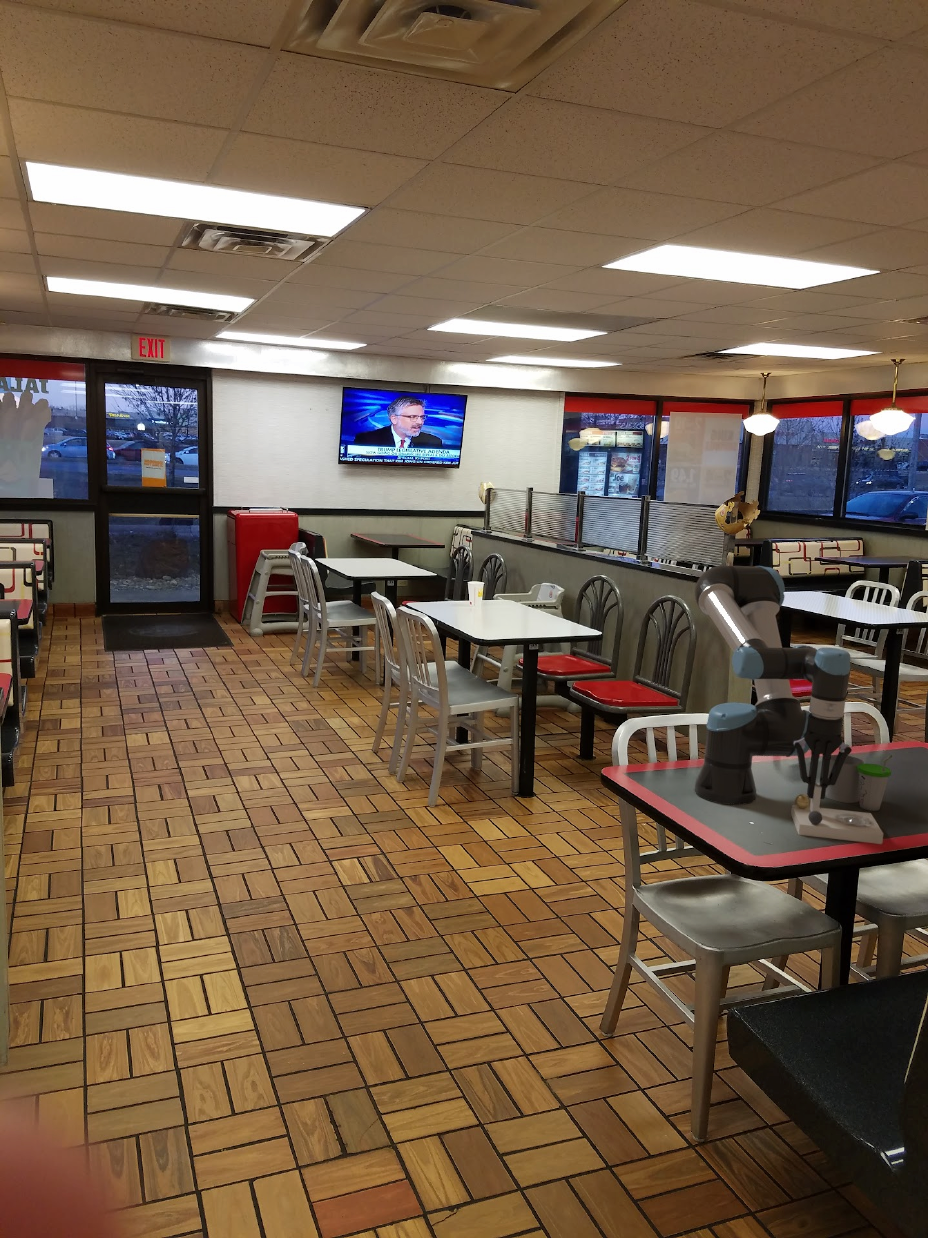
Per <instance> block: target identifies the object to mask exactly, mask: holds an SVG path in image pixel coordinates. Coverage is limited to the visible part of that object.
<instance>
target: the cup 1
mask: <svg viewBox="0 0 928 1238" xmlns="http://www.w3.org/2000/svg"><path fill="white" fill-rule="evenodd" d="M837 755H838V754H831V760H830V766H829V774H828V777H829V775H830V772H831V770H832V768H833V765H834V763H835V760H836V758H837ZM859 764H865V763H864V760H863V759H860V758H859V757H855V756H851V755H848V756H847V757H846V759H845V761H844V764H843V766H842V769H841V771H840V774H839V776H838V778H837V781H836V783H835V785H829V786H828V787H827V788H826V793H825V798H828V799H830V800H832V801H835V802H840V803H848V804H849V803H851V804H854V803H857V802H859V772H858V770H857V765H859Z"/></svg>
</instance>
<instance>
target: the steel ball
mask: <svg viewBox="0 0 928 1238" xmlns="http://www.w3.org/2000/svg"><path fill="white" fill-rule="evenodd" d="M847 822H849V823H852V824H861V822H860V821H859V820H858V819H857V818H850V819H848V821H847Z"/></svg>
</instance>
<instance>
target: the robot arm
mask: <svg viewBox="0 0 928 1238" xmlns="http://www.w3.org/2000/svg"><path fill="white" fill-rule="evenodd" d="M784 583H785V582H784V580H783V578H782V575H781V574H780V573H779V572H778V571H777V570H776V569H775V568H772V567H770V566H769V567H768V566H762V565H755V566H750V565H749V566H747V565H746V566H743V565H725V564H724V565H717V566H713V567H711V568H709V569H707V570H706V571H705V572H703V573H702V575H700V577H699V578H698V580H697V581H696V584H695V588H694V598H695V602H696V604H697V606H698V607H699V609H700V610H701V611H702V613H703V614H705V615H707V616H709V617H710V618H711V620H712V622H713V624H714V625H715V626H716V628H717V629H718V631H719V632H720V634H721V635H722V637H723V639H724V640H725V642H726V643H727V645H728V646H729V648H730V649H731V651H732V652H733V654H732V658H731V665H732V666H731V667H732V668H733V673H734V675H735V676H736V677H737V678H739V679H747V680H748V679H750V680H753V681H754V687H755V691H756V697H757V702H756V703H755V705H753V704H751V703H747V702H741V703H740V702H734V701H733V702H725V703H719V704H717V705H714V706H713V707H712V708H711V709H710V710H709V713H708V716H707V721H706V735H705V748H704V749H705V750H704V759H703V765H702V766H701V767H700V768H701V769H700V771H699V773H698V775H697V778H696V779H695V783H694V792H696V793H695V794H696V795H697V796H699V797H701V798H703V799H705V800H707V801H710V802H714V803H719V804H722V805H723V804H725V805H737V806H738V805H747V804H751V803H753V802H754V801H756V797H757V788H756V784H755V780H754V775H753V770H752V762H753V757H785V758H791V757H797V761H798V767H799V774H800V775H799V776H800V779H801V781H802V783H805V784H807V790H806V791H807V792H806V796H808V798H809V799H810V804H809V807H810V810H811V812H812V811H818V812H819V808H820V804H821V803H820V802H821V800H825V798H826V796H825V793H826V788H827V787H828V786H829V785H835V783H836V781H837V778H838V776H839V774H840V771H841V769H842V766H843V764H844V761H845V759H846V757H847V756H850V753H851V752H852V751H853V750H852V747H850V745H849V744H846V743H845V742H843V736H842V732H843V731H842V730H843V724H844V723H843V722H844V720H843V716H844V714H845V706H846V697H847V692H848V687H849V686H848V685H849V680H850V679H849V678H850V672H851V654H850V653H849V651H847V650H844V649H840V648H837V647H820V648H819V647H818V649H817V648H816V647H813V646H810V645H806V644H798V645H794V646H793V647H783V646H782V641H781V636H780V632H779V628H778V627H779V626H778V622H777V618H776V615H777V614H778V613H779V611H780V607H782V605H783V604H784V601H785V597H786V595H785V592H786V589H785V588H786V587H785V584H784ZM790 680H801V681H802V680H803V681H804V680H805V681H807V682H809V683H811V693H810V701H809V707H808V710H806V709H802V705H801V700H800V699H798V698H797V697H795V696H794V695H793V692H792V688H791V684H790ZM837 749H838V750H839V751H838V753H837V754H836V755H837V758H836V760H835V763H834V765H833V768H832V770H831V772H830V775H829V777H828V774H829V766H830V760H831V755H833V753H834V752H835V751H836V750H837ZM809 750H810V763H809V769H808V772H807V765H806V759H805V754H806V753H808V752H809ZM821 755H822V759H821V766H820V767H821V768H820V774H819V775H820V776H819V782H817V775H818V767H819V759H820V758H821V757H820V756H821Z"/></svg>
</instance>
